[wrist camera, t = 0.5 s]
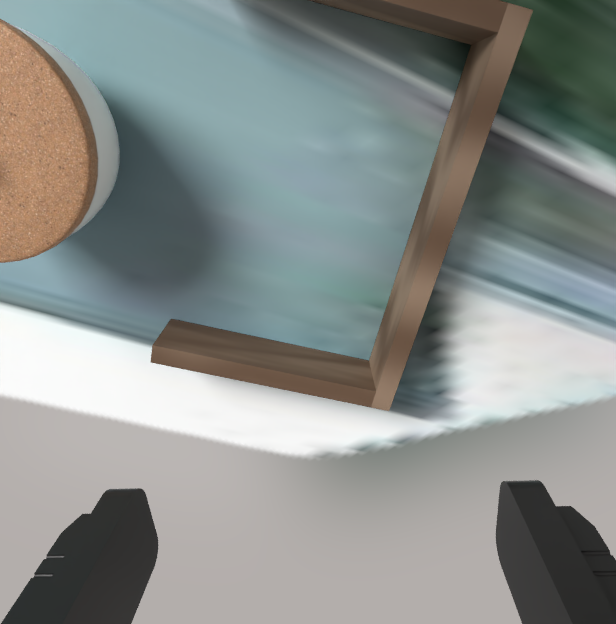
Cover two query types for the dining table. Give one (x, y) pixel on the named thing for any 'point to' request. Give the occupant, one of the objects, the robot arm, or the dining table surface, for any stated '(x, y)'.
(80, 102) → the lidded jar
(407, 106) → the dining table surface
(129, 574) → the robot arm
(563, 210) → the dining table surface
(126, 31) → the dining table surface
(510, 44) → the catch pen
